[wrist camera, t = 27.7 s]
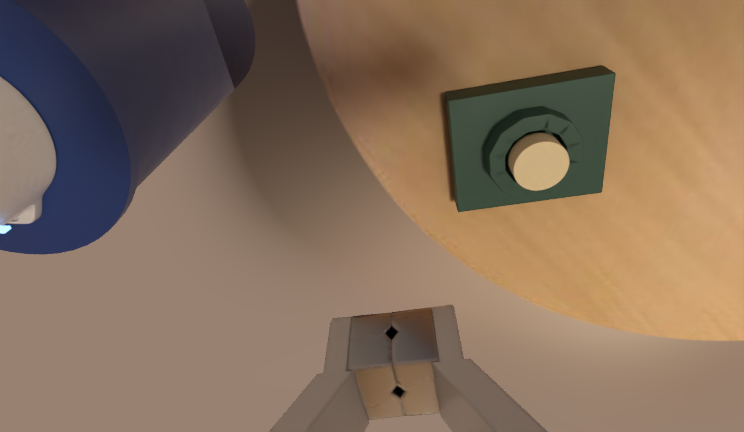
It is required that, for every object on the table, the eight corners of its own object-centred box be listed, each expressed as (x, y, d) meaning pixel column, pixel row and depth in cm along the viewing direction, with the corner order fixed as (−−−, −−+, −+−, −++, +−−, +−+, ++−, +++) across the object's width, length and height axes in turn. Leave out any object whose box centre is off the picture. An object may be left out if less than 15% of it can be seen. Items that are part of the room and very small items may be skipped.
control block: (454, 199, 40) (460, 224, 36) (444, 92, 34) (450, 108, 31) (591, 180, 38) (611, 203, 35) (603, 65, 33) (627, 79, 30)
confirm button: (508, 183, 35) (513, 194, 33) (507, 136, 33) (513, 146, 31) (560, 175, 34) (568, 186, 33) (562, 128, 32) (571, 137, 31)
